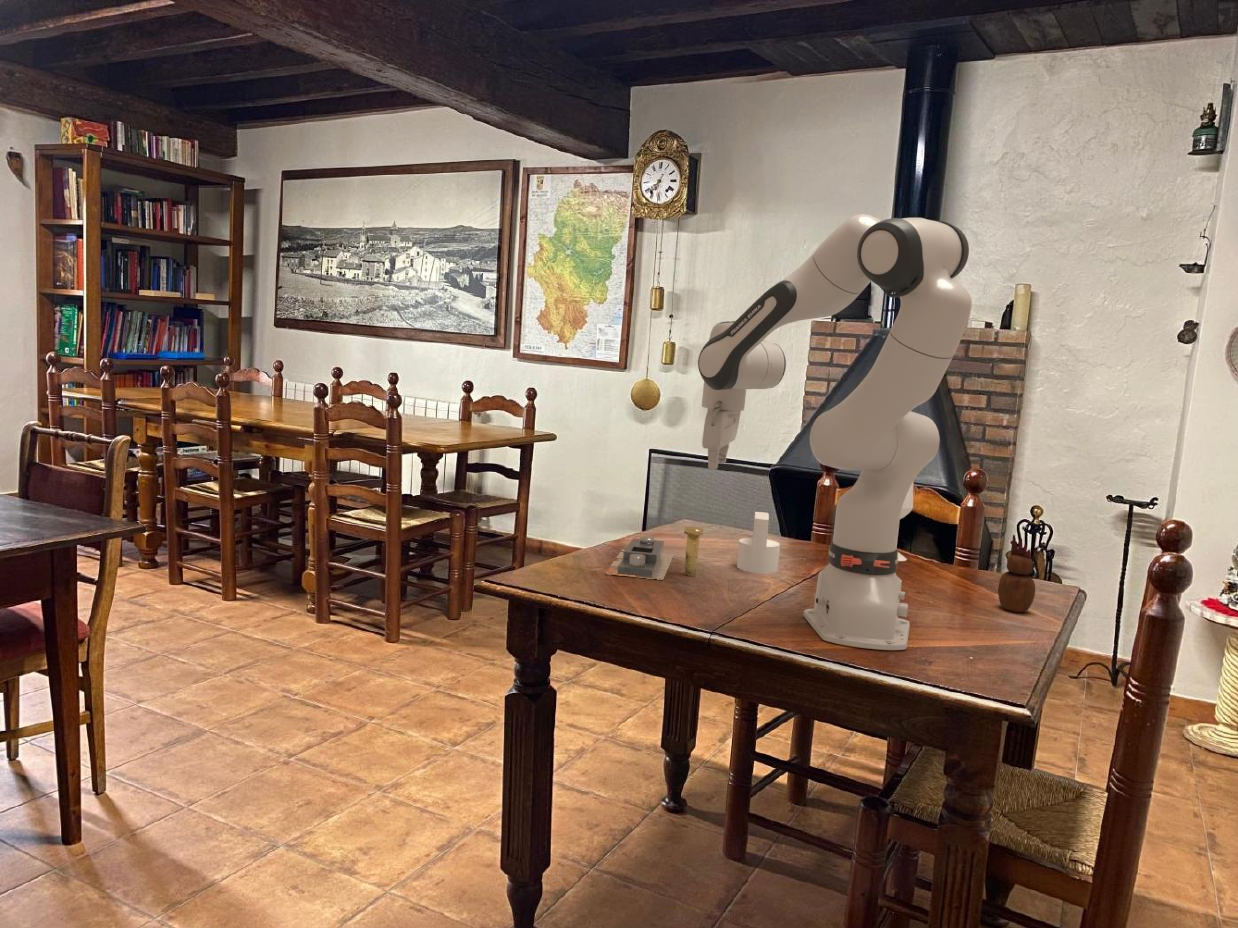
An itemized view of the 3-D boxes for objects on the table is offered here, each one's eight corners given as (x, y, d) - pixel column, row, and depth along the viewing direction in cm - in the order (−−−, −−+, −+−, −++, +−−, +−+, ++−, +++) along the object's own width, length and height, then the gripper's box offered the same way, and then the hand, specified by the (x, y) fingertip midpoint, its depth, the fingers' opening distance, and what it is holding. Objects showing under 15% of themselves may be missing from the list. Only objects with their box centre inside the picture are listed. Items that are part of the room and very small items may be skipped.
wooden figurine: (990, 605, 182) (999, 533, 180) (1012, 604, 184) (1021, 532, 182) (1015, 615, 175) (1025, 540, 173) (1038, 614, 177) (1047, 540, 175)
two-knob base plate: (663, 581, 183) (664, 560, 183) (605, 574, 185) (606, 554, 184) (673, 556, 206) (675, 537, 205) (622, 550, 208) (623, 532, 207)
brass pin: (699, 578, 188) (702, 531, 186) (680, 576, 188) (683, 529, 187) (700, 573, 192) (704, 527, 190) (681, 571, 192) (685, 525, 191)
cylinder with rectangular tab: (777, 575, 195) (782, 521, 193) (736, 571, 196) (740, 517, 194) (777, 566, 203) (782, 514, 202) (737, 561, 205) (741, 510, 203)
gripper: (730, 405, 175) (722, 474, 177) (746, 399, 194) (739, 461, 197) (698, 401, 177) (691, 470, 179) (717, 396, 196) (711, 458, 198)
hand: (716, 466), depth 188 cm, fingers open, 8 cm apart
